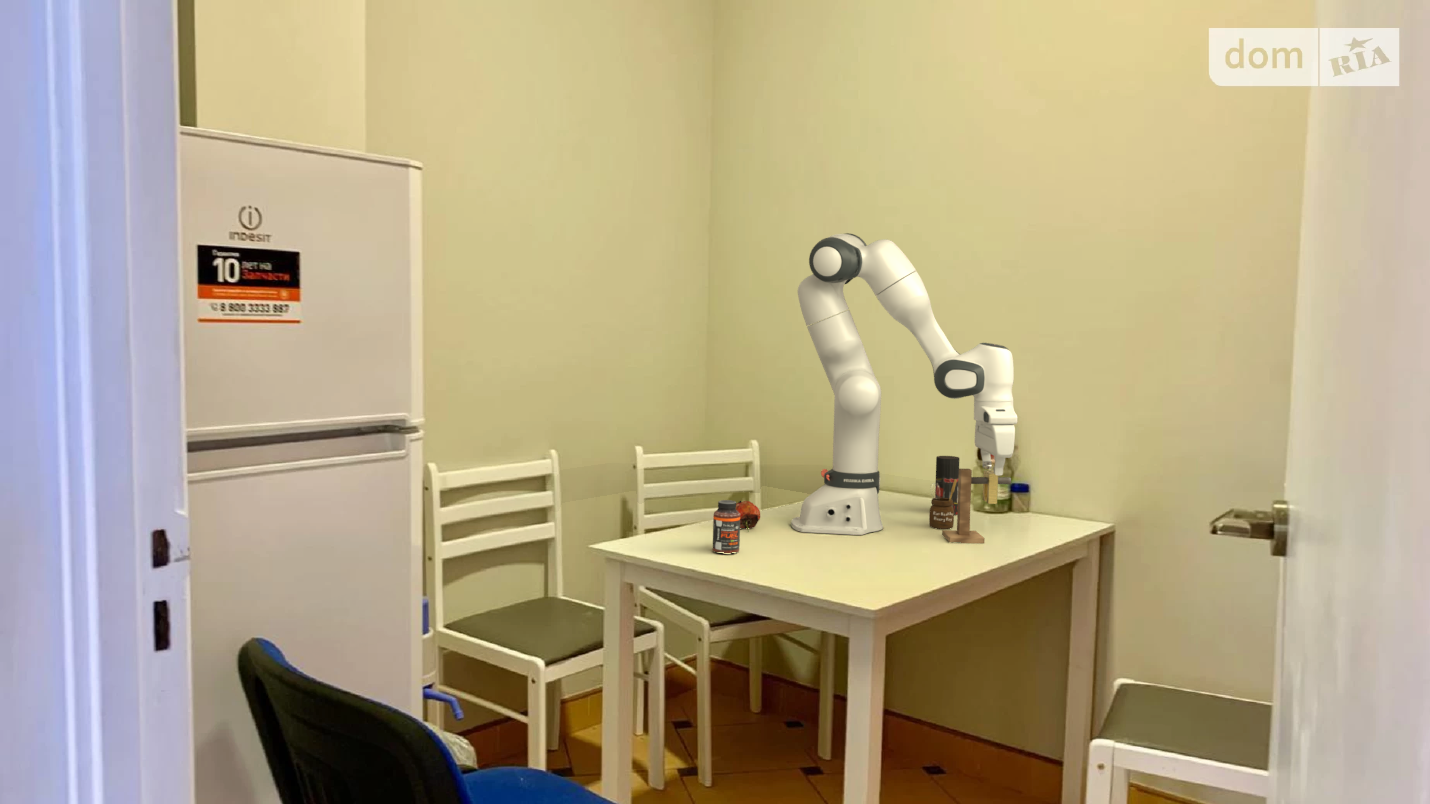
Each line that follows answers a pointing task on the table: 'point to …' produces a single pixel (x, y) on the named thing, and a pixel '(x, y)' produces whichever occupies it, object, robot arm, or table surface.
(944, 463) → the deodorant
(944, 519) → the utensil holder
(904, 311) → the robot arm
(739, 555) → the table surface
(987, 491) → the tan wooden arch piece
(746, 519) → the pomegranate
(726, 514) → the supplement bottle
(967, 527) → the stand
